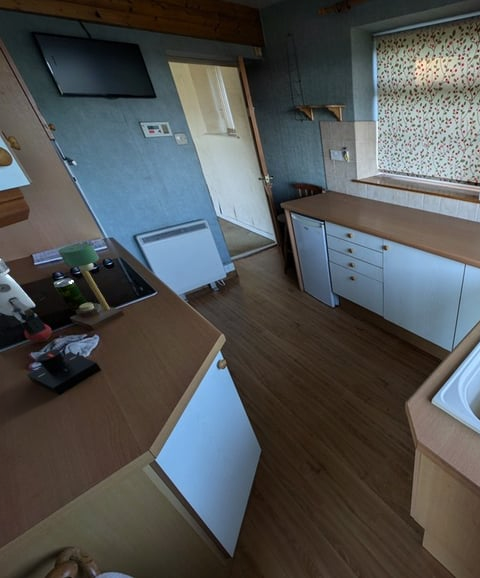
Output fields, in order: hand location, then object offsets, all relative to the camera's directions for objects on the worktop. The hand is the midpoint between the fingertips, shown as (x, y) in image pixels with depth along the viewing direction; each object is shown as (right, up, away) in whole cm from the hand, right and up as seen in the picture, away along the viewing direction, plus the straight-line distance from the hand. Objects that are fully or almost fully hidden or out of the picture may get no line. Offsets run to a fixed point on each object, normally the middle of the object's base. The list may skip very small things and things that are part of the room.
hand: (28, 328), depth 77 cm
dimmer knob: (0, -12, +7) cm, 14 cm away
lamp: (-5, +2, +30) cm, 30 cm away
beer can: (-27, +3, +39) cm, 48 cm away
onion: (-21, -7, +22) cm, 31 cm away
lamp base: (-13, -1, +32) cm, 35 cm away
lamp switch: (-16, +3, +32) cm, 36 cm away
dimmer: (+2, -15, +8) cm, 17 cm away
